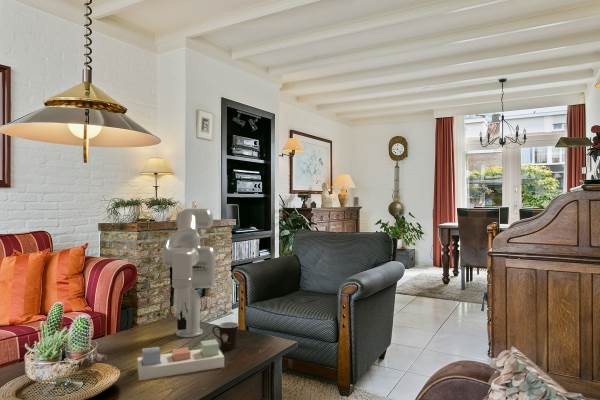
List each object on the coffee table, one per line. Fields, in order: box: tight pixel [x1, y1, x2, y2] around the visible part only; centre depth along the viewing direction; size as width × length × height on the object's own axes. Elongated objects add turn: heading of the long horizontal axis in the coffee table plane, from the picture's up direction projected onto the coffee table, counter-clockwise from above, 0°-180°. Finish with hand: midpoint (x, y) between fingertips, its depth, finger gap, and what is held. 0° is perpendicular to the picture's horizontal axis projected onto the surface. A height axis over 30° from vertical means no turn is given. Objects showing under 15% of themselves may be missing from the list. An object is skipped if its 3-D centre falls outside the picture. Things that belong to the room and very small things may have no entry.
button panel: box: [136, 348, 225, 381], centre depth 158 cm, size 12×31×4 cm, turn 115°
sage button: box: [200, 339, 220, 357], centre depth 163 cm, size 6×6×5 cm
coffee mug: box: [212, 321, 239, 351], centre depth 182 cm, size 12×9×10 cm
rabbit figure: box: [96, 352, 108, 363], centre depth 163 cm, size 6×6×15 cm
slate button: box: [141, 346, 161, 366], centre depth 154 cm, size 6×6×5 cm
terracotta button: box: [171, 346, 190, 361], centre depth 158 cm, size 6×6×5 cm
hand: (181, 329), depth 160 cm, fingers closed
